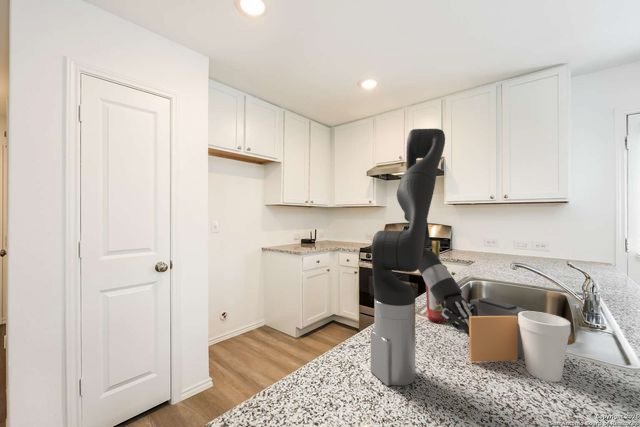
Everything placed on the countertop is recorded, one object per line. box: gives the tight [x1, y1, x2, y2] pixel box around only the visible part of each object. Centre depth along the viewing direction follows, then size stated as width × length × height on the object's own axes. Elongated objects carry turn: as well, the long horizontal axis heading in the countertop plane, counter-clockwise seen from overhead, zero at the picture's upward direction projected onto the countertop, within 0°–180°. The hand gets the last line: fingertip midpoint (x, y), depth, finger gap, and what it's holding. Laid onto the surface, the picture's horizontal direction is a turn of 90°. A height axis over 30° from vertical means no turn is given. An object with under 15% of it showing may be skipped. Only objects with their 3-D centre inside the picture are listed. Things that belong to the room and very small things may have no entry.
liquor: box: [425, 240, 448, 323], centre depth 97 cm, size 7×7×28 cm
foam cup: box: [518, 310, 571, 383], centre depth 64 cm, size 10×9×13 cm
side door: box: [468, 316, 519, 363], centre depth 69 cm, size 1×12×11 cm, turn 93°
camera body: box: [469, 297, 528, 359], centre depth 77 cm, size 6×12×13 cm, turn 25°
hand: (479, 343), depth 70 cm, fingers closed
